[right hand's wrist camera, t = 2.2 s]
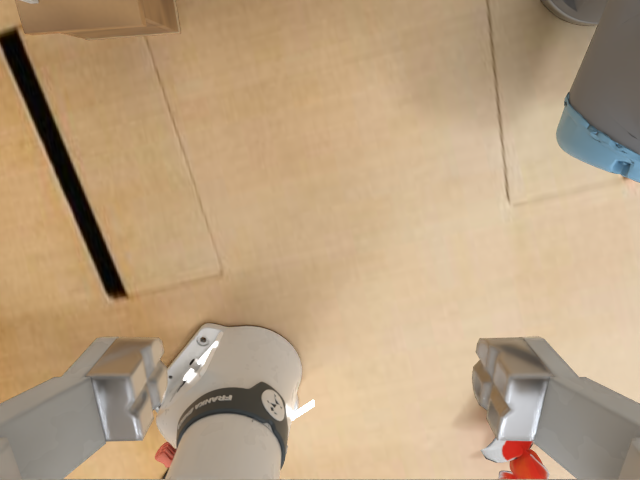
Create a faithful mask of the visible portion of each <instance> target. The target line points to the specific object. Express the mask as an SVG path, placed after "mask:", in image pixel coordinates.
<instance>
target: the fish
mask: <svg viewBox="0 0 640 480" xmlns="http://www.w3.org/2000/svg"><path fill="white" fill-rule="evenodd" d="M533 442H534V441H502V440H497V438H496V437H495V439H494V440H493V442H492V443H491V444H489V445H488V446H487V447H486V448H485V449H482V450H481V452H482V453H483V455H484V456H485V458H486V459H488V460H491V461H493V462H507V461H510V469H511V471H512V472H510V471H500V472H499V479H548V478H549V472H548V470H547V469H546V467H545V466H544V465H543V464H542V462H541V460H540V458H539V457H538V455H537V454H536V453H535V452H534V451H533V450H530V448H531V446H532V444H533Z"/></svg>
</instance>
